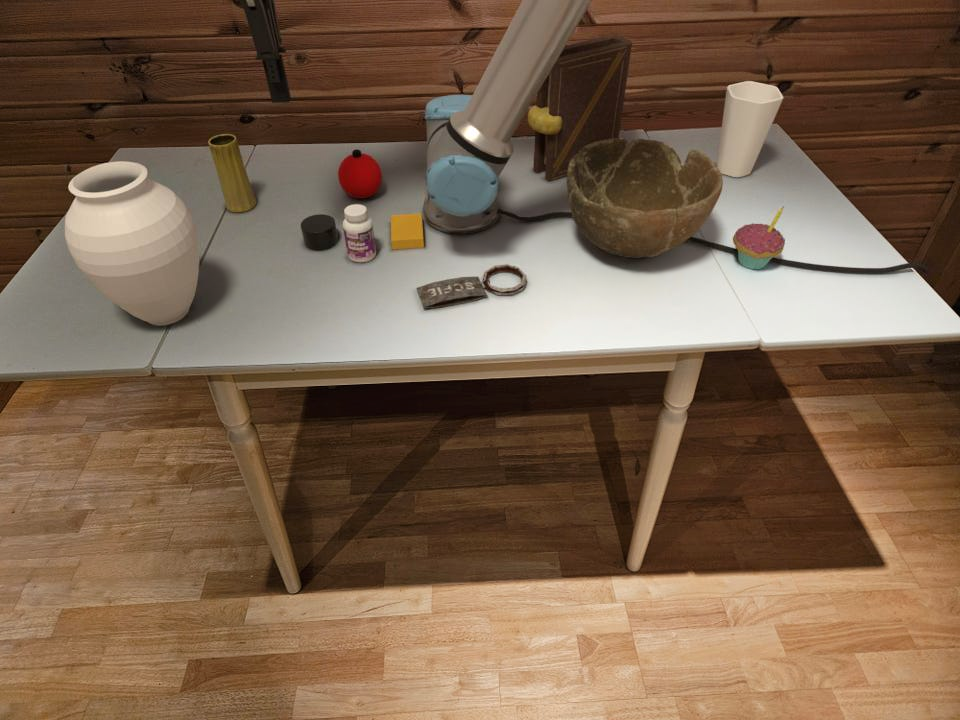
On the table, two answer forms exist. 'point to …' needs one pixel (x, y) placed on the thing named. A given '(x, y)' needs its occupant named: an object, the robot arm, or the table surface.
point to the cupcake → (758, 243)
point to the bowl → (640, 195)
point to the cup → (746, 125)
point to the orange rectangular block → (407, 231)
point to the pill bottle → (359, 234)
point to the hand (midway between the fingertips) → (281, 100)
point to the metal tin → (319, 232)
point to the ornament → (359, 175)
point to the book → (579, 102)
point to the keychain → (466, 288)
